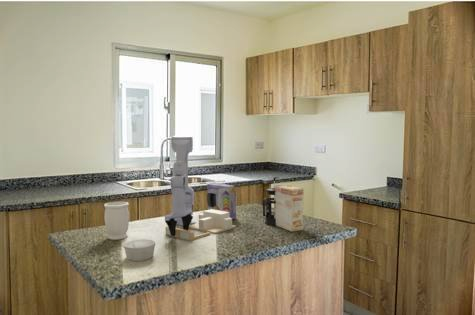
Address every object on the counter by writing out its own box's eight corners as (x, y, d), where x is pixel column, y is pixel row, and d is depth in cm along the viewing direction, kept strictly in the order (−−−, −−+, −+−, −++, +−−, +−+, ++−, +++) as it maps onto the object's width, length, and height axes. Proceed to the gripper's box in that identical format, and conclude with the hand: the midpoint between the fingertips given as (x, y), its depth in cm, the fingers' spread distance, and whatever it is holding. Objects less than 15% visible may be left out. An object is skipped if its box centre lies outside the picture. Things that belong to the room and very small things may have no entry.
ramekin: (117, 258, 143) (117, 244, 143) (140, 250, 152) (140, 237, 152) (138, 264, 137) (138, 249, 137) (161, 255, 146) (161, 242, 146)
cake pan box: (206, 214, 214) (206, 182, 212) (213, 213, 217) (213, 181, 216) (229, 220, 200) (229, 186, 198) (236, 219, 203) (236, 185, 202)
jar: (104, 235, 174) (103, 202, 173) (128, 233, 177) (127, 200, 176) (105, 242, 164) (104, 206, 163) (131, 239, 168) (130, 204, 166)
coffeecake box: (303, 230, 181) (304, 188, 180) (291, 231, 178) (291, 189, 176) (285, 223, 194) (285, 184, 193) (273, 224, 191) (273, 185, 190)
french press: (288, 222, 194) (288, 176, 193) (279, 226, 187) (279, 178, 185) (268, 219, 201) (268, 175, 200) (258, 223, 194) (258, 177, 192)
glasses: (185, 228, 184) (185, 221, 184) (210, 234, 174) (210, 226, 174) (165, 234, 175) (165, 226, 175) (190, 240, 165) (190, 232, 164)
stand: (208, 221, 198) (208, 208, 197) (236, 227, 187) (236, 212, 186) (186, 227, 186) (186, 213, 186) (214, 234, 175) (214, 218, 174)
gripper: (172, 206, 161) (173, 239, 162) (197, 201, 173) (197, 231, 174) (161, 204, 166) (161, 236, 167) (186, 199, 177) (186, 229, 178)
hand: (179, 233), depth 170 cm, fingers open, 7 cm apart
